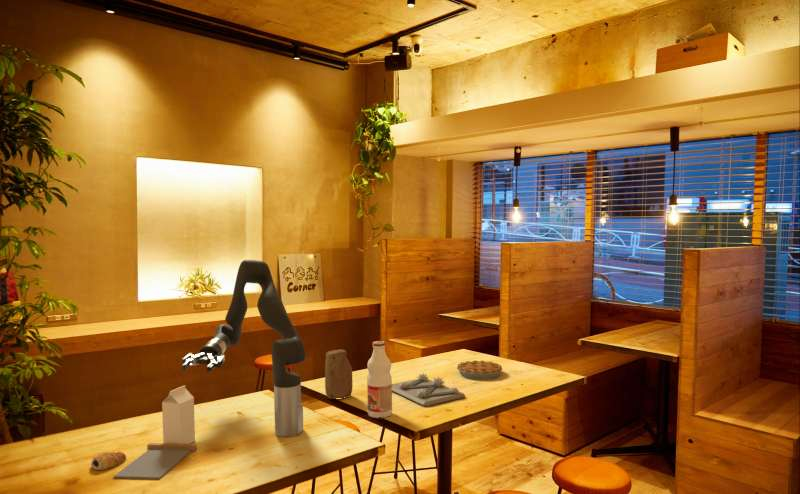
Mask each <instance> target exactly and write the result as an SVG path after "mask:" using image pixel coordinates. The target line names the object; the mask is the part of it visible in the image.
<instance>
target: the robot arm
mask: <svg viewBox="0 0 800 494" xmlns="http://www.w3.org/2000/svg"><path fill="white" fill-rule="evenodd" d="M237 270H238V271H237V275H236V277H235V278H236V279H235V283H234V289H233V294H232V299H231V302H230V304H229V307H228V310H227V312H226V315H225V317H224V318H225V320H224V321H225V322H226V323H221V324H220V325H218V326H217V327H216V330H215V332H214V335H213V337H212V338H211V339H210V340H209V341H208V342H206V344H205V345H203V346H202V348H201V349H200V350H199V352H198V353H196V354H195V355H194V354H193V352H188V353H187V354H186V355H185V356H184V357H182V358H181V359H182V369H183V371H184V372H185V371H187V370H188V369H189V368H190V367H191V366H193V367H196V366H198V365H206V373H210V372H212V371H213V370H214V369H215V368H218V369H220V368H222V366H223V365H224V363H225V359H226V356H225V354H224V353H225V352H226V351H227V349H228V348H229V347H230V346H231V347H234V346H236V345H238V344H239V343H240V341H241V338H242V328H243V322H244V319H245V316H246V314H247V310H248V302H247V298H246V294H245V287H246V286H247V285H246V284H249V283H250V284H258V285H259V287H260V288H261V292H260V294H259V297H258V299H257V305H256V306H257V307H256V308H257V310H258V313H259V315H260V318H261V320H262V321H263V322H264V324H265V325H266V326H268V327H269V328H271V330H274V331H275V332H277V333H278V334H279V335H281V337H283V338H280V339H275V340H273V342H272V345H271V352H270V353H271V363H272V364H271V365H272V378H273V395H274V396H273V401H274V403H273V405H274V433H275V435H276V436H278V437H282V438H288V437H289V438H290V437H295V436H296V437H297V436H300V435H301V434H302V432H303V431H304V404H303V403H302V390H301V389H302V381H301V380H302V377H301V375H300V374H298V373H296V372H291V371H288V370H286V366H291V365H296V364H301V363H302V362H305V359H306V349H305V345H304V343H303V340H302V339H301V336H300V335H299V334H298V332H297V330H296V328H295V326H294V325H293V324H292V321H291V319H290V316H289V315H288V312H287V310H286V307H285V305H284V303H283V301H282V299H281V297H280V295H279V293H278V290H277V288H276V285H275V283H274V280H273V276H272V273H271V270H270V266H269V265H268V264H267V262H265V261H263V260H258V259H257V260H256V259H244V260H242V261H241V262H240V265H239V267H238V269H237Z"/></svg>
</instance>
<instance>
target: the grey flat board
mask: <svg viewBox="0 0 800 494" xmlns="http://www.w3.org/2000/svg"><path fill="white" fill-rule="evenodd" d="M146 446H147V447H146V451H145V452H144V453H142V454H140V456H138V457H137V458H136V459H134V460H133V461H131V462H130V463H129V464H128V465H126V466H125V467H124V468H123V469H121V470H119V471H118V472H117V473H116V474H114V475H113V479H129V480H131V479H132V480H133V479H134V480H137V479H140V480H161V479H162V478H163V477H164V476H165V475H166V474H167V473H168V472H170V471H171V470H172V469H173V468H174V467H175V466H176V465H178V464H179V463H180V462H182V460H183V459H185V458H186V457H187V456H188V455H189V454H190V453H191V452H196V450H197V443H190V444H168V443H163V442H161V443H160V442H159V443H158V442H157V443H156V442H155V443H154V442H149V443H147V444H146Z"/></svg>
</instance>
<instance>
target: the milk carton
mask: <svg viewBox="0 0 800 494" xmlns="http://www.w3.org/2000/svg"><path fill="white" fill-rule="evenodd" d="M161 404H162V405H161V406H162V408H161V409H162V411H161V412H162V413H161V415H162V443H168V444H193V442H195V441H196V429H195V428H196V427H195V425H196V424H195V423H196V422H195V397H194V396H193V394H191V393H190V391H188V389H187V388H186V385H182V386H180V387H177V388H175V389H172V390H170V391H169V393H168V396H167V397H166V398H165V399H163V401H162V403H161Z"/></svg>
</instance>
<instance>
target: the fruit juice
mask: <svg viewBox="0 0 800 494" xmlns="http://www.w3.org/2000/svg"><path fill="white" fill-rule="evenodd" d="M385 347H386V342H385V341H384V340H382V341H381V340H376V341H372V348H373V350H372V354H371V357H370V358H369V359H368V361H367V366H366V367H367V371H368V375H367V379H366V380H367V381H366V382H367V383H366V386H367V389H366V390H367V393H366V394H367V414H368V416H369V417H371V418H374V419H380V418H379V417H385V418H388V417H387V416H389V417H391V415H392V414H393V392H392V384H393V382H392V380H393V379H392V374H391V370H392V361H391V359H389V357H388V356H387V353H386V350H385V349H386V348H385Z"/></svg>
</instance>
